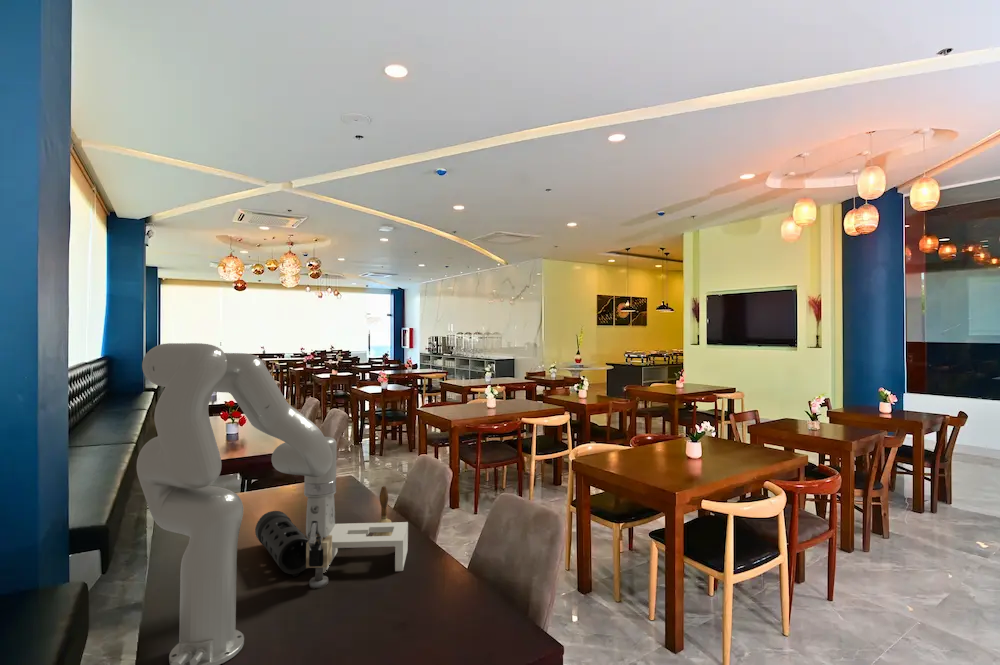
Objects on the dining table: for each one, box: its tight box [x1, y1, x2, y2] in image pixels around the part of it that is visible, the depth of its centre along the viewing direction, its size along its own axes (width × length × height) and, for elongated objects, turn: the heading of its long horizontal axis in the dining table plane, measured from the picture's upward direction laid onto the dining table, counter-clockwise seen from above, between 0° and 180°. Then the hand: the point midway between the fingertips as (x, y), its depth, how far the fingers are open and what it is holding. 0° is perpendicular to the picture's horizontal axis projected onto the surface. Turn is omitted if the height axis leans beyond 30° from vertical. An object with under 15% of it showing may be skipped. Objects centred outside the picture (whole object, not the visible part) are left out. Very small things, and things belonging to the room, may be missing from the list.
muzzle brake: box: [254, 510, 309, 577], centre depth 142 cm, size 10×28×10 cm, turn 37°
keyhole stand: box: [323, 521, 409, 574], centre depth 141 cm, size 14×22×8 cm, turn 95°
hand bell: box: [372, 485, 392, 536], centre depth 157 cm, size 8×8×16 cm
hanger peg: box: [306, 535, 333, 590], centre depth 127 cm, size 5×5×11 cm
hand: (319, 560), depth 127 cm, fingers closed on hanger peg, 5 cm apart
